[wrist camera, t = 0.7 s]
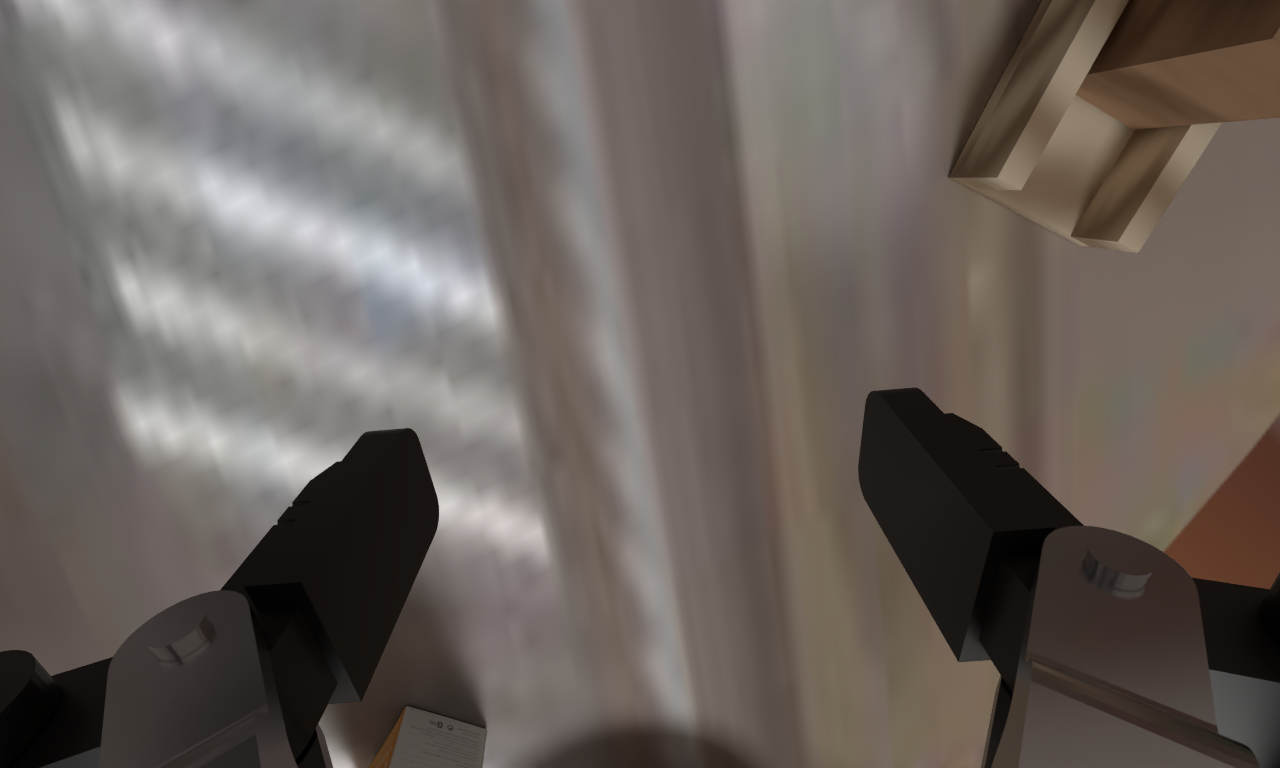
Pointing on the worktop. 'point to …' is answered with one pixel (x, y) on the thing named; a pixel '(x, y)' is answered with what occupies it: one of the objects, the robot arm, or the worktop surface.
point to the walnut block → (1189, 63)
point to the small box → (431, 743)
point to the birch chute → (1074, 139)
